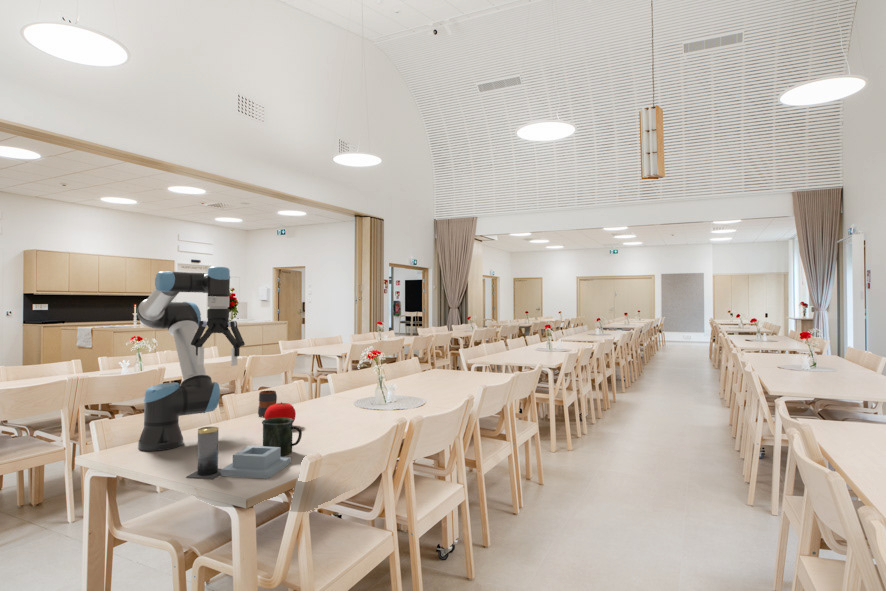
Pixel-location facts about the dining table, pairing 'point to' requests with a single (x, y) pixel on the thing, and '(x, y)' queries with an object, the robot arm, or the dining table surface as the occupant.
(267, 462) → the housing
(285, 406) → the tomato
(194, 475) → the mat
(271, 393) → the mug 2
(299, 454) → the dining table surface
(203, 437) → the grey canister
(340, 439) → the dining table surface
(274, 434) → the mug
